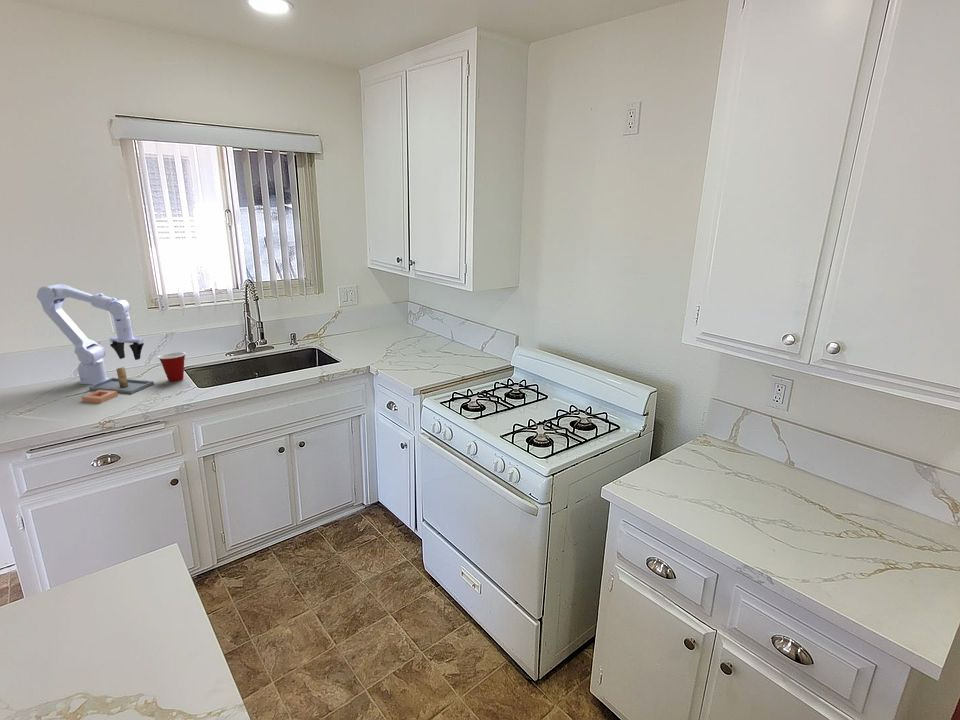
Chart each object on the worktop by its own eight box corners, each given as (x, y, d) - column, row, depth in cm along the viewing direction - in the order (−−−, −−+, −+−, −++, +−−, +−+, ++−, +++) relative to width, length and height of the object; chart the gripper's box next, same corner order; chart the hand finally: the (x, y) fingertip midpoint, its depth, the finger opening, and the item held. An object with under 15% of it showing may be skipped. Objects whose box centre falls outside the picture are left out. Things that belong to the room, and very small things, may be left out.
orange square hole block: (82, 402, 206) (81, 396, 205) (100, 395, 214) (99, 389, 213) (101, 404, 205) (99, 398, 204) (118, 396, 213) (117, 391, 212)
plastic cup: (183, 374, 240) (179, 349, 237) (193, 379, 234) (190, 354, 230) (157, 379, 232) (153, 354, 229) (167, 385, 226) (163, 359, 222)
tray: (89, 390, 218) (88, 386, 217) (113, 381, 229) (112, 377, 229) (132, 395, 215) (131, 390, 214) (154, 385, 226) (153, 381, 226)
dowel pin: (118, 387, 220) (114, 369, 218) (123, 384, 223) (120, 367, 221) (124, 387, 220) (120, 370, 217) (130, 385, 223) (126, 367, 220)
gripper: (101, 329, 220) (107, 360, 224) (131, 331, 218) (137, 362, 222) (114, 325, 227) (121, 355, 231) (144, 327, 224) (150, 357, 228)
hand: (130, 358), depth 227 cm, fingers open, 7 cm apart
